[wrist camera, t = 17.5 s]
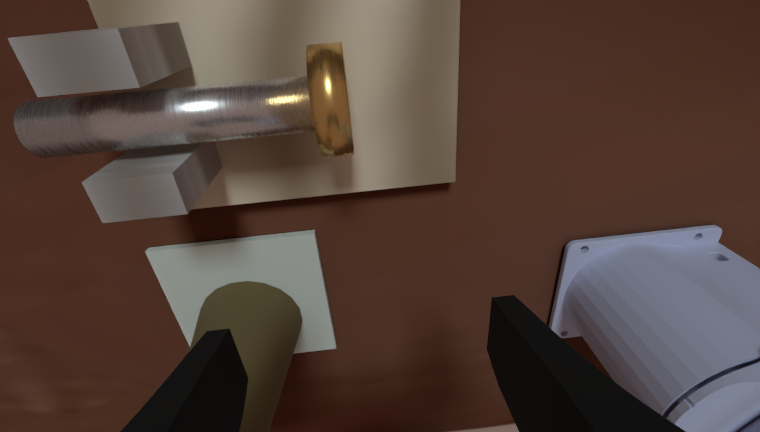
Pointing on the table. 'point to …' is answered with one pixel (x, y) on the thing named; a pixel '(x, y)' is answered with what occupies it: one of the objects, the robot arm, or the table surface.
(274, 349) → the olive stepped cylinder
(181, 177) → the shaft bracket
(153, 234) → the table surface
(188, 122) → the shaft
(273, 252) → the pale green mat
